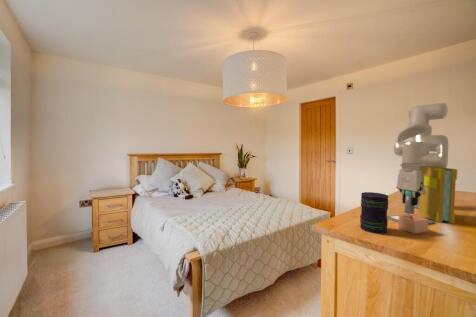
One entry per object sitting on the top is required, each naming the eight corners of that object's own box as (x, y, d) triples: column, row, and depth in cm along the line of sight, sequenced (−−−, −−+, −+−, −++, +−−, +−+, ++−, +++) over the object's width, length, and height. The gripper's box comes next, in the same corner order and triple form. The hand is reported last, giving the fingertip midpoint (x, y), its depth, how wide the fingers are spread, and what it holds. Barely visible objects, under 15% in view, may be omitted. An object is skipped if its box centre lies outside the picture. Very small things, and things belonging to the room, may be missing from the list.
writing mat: (408, 215, 112) (408, 213, 112) (434, 223, 100) (435, 221, 100) (385, 217, 108) (385, 215, 108) (409, 226, 96) (409, 224, 96)
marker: (408, 211, 110) (409, 187, 109) (416, 213, 106) (417, 189, 105) (402, 212, 109) (403, 188, 108) (410, 214, 105) (411, 189, 104)
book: (454, 223, 100) (457, 169, 99) (437, 222, 101) (440, 168, 100) (430, 212, 117) (432, 166, 115) (415, 211, 118) (417, 165, 117)
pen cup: (410, 226, 96) (411, 214, 95) (427, 232, 89) (428, 219, 89) (398, 228, 94) (398, 215, 94) (414, 234, 87) (415, 220, 87)
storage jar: (355, 228, 94) (356, 193, 93) (366, 223, 100) (367, 191, 99) (381, 236, 86) (382, 198, 85) (391, 230, 92) (392, 195, 91)
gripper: (389, 165, 113) (388, 200, 114) (423, 168, 97) (421, 209, 98) (401, 165, 115) (399, 200, 116) (436, 168, 99) (434, 208, 100)
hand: (409, 203), depth 107 cm, fingers closed on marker, 3 cm apart
